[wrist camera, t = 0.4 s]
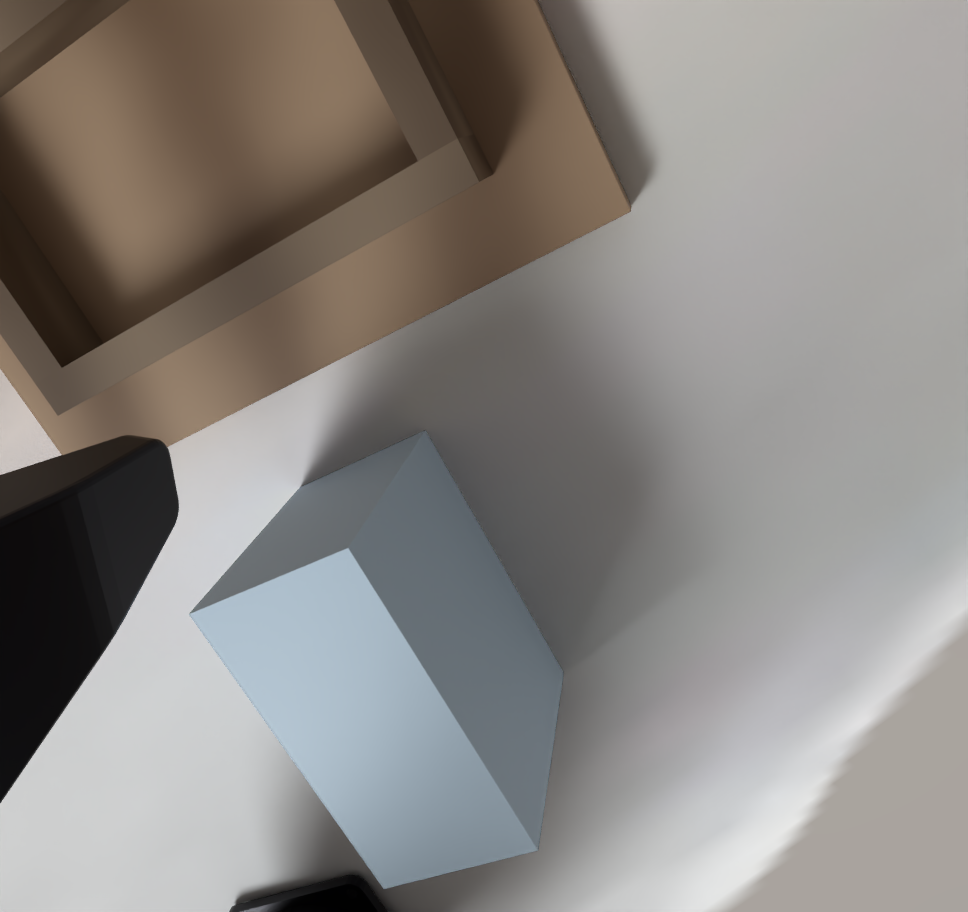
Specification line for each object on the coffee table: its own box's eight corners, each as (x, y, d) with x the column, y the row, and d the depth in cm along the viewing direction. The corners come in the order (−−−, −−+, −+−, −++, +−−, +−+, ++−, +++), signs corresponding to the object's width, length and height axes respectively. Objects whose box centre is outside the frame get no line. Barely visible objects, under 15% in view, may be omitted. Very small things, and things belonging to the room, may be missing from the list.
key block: (442, 710, 28) (383, 889, 22) (301, 486, 26) (188, 614, 20) (564, 671, 27) (538, 850, 21) (426, 429, 24) (348, 548, 18)
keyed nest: (104, 474, 27) (44, 517, 24) (-174, 78, 23) (-282, 77, 21) (631, 206, 21) (628, 223, 18) (365, -378, 17) (313, -465, 15)
